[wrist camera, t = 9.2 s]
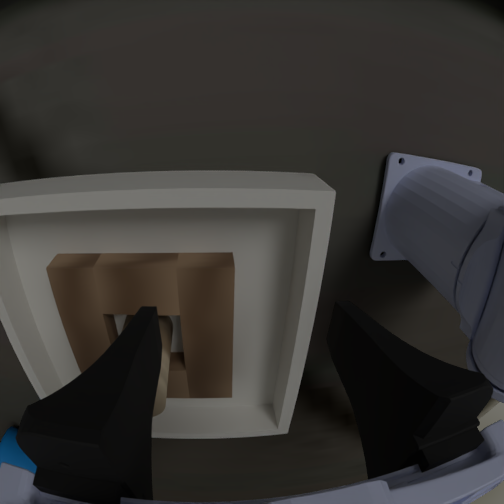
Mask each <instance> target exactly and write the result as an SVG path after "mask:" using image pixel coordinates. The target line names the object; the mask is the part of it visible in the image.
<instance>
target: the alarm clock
mask: <svg viewBox="0 0 504 504" xmlns="http://www.w3.org/2000/svg"><path fill="white" fill-rule="evenodd" d="M17 432H18V429H17V428H15V427H10V428H9V429H8V430H7V431H6V433H5V434H4V436H3V438H2V440H1V443H0V467H1V463H2V462H6V463H8V464H11V465H15V466H18V467H21V468H24V469H27V470H29V471H31V472H33V473H34V474H35V472H36V468H37V466H36V465H35V464H34V463H33V462H32V461H31V460H30V459H29V457H28V456H27V455H26V454H25V453H24V452H23V451H22V450H21V448H20V447H19V445H18V444H17V441H16V435H17Z"/></svg>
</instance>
